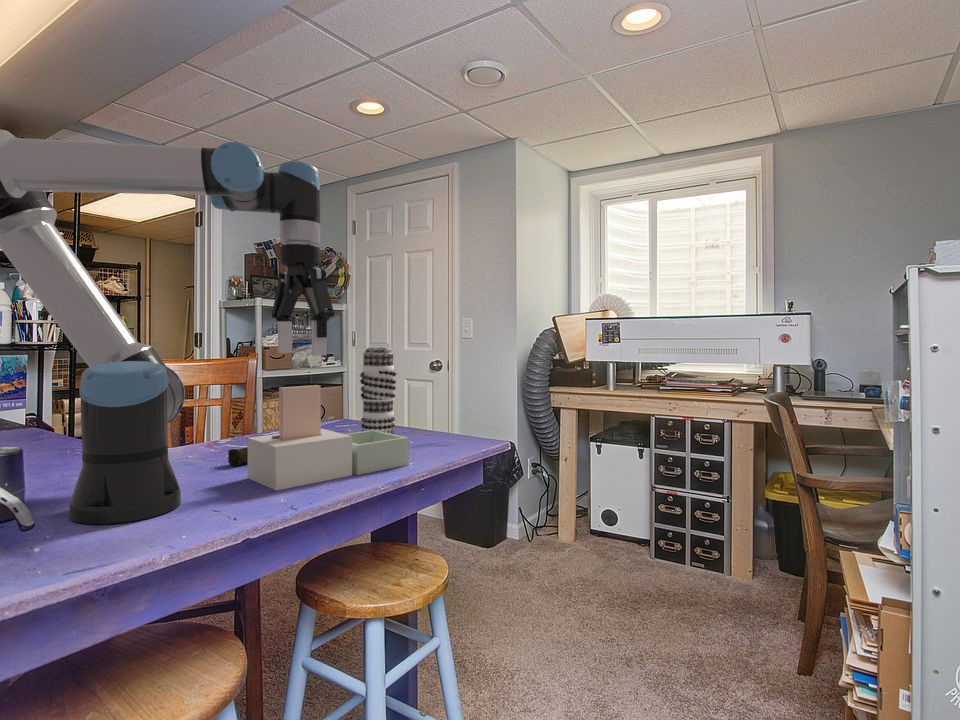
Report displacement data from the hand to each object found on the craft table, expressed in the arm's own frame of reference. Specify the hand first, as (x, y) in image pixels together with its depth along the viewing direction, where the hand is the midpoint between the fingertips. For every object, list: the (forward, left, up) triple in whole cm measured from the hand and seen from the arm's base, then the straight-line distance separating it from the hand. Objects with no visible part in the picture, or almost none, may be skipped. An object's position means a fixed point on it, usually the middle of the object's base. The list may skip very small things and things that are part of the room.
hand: (301, 354), depth 111 cm
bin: (+15, 0, -24) cm, 29 cm away
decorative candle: (+30, +16, -25) cm, 42 cm away
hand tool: (+3, +20, -25) cm, 32 cm away
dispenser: (0, 0, -24) cm, 24 cm away
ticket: (0, 0, -22) cm, 22 cm away
